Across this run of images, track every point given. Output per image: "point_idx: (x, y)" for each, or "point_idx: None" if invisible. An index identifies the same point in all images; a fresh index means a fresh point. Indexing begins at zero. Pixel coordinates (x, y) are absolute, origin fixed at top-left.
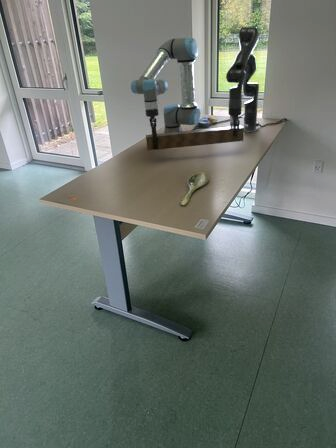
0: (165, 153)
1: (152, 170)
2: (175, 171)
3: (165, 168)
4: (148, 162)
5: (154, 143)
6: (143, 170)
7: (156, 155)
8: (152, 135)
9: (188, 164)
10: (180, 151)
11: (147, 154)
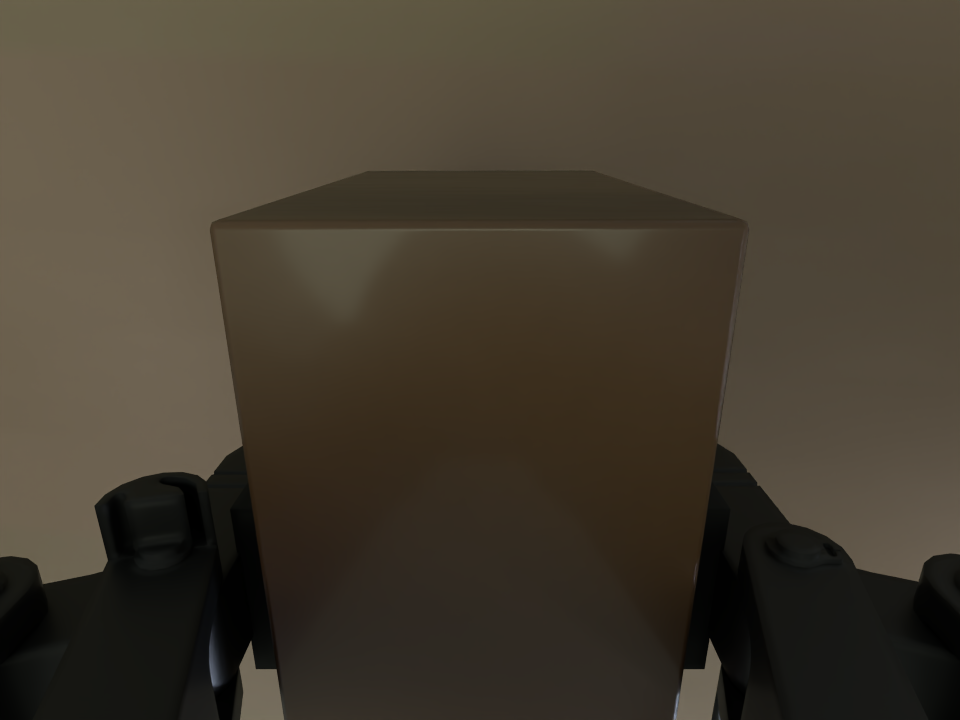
0: (796, 454)
1: (77, 208)
2: (25, 523)
3: (146, 409)
4: (469, 151)
5: (224, 467)
6: (86, 40)
7: (770, 310)
8: (484, 580)
9: (254, 679)
10: None
11: (907, 146)
